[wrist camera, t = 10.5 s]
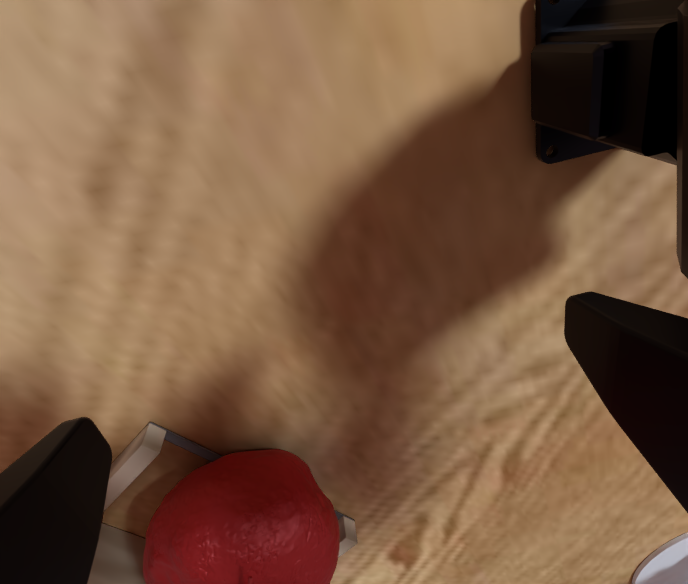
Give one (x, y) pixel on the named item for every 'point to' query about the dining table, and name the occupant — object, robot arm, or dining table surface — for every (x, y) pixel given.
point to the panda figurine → (665, 564)
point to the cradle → (127, 549)
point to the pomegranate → (244, 525)
